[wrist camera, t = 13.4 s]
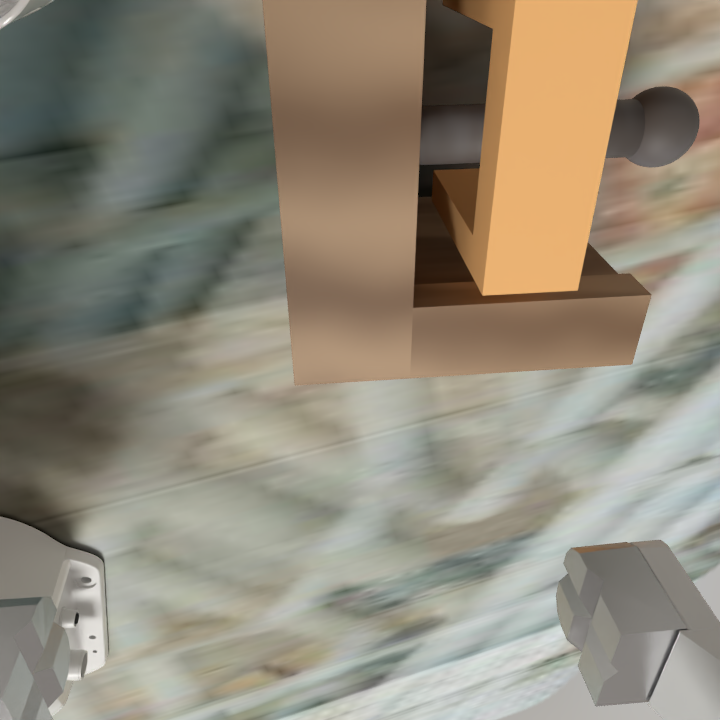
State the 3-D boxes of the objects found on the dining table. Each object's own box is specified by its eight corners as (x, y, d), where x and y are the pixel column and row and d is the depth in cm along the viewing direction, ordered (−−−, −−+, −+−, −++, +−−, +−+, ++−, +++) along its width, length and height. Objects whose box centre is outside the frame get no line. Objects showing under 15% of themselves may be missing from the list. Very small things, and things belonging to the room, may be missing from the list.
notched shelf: (538, 238, 40) (644, 368, 28) (293, 250, 39) (294, 391, 27) (604, -176, 29) (828, -252, 17) (261, -176, 28) (240, -258, 16)
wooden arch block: (502, 197, 32) (577, 290, 23) (431, 200, 31) (482, 295, 23) (531, -39, 26) (642, -25, 18) (444, -37, 26) (518, -23, 18)
